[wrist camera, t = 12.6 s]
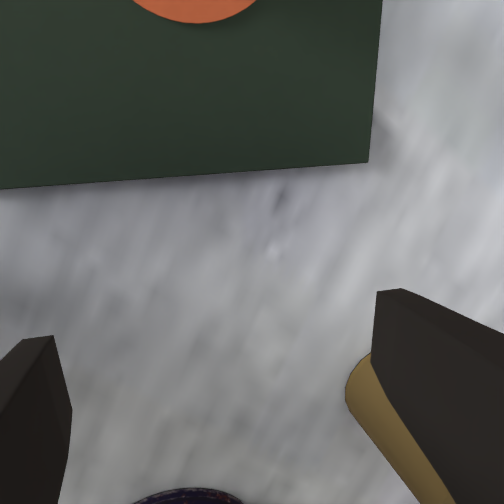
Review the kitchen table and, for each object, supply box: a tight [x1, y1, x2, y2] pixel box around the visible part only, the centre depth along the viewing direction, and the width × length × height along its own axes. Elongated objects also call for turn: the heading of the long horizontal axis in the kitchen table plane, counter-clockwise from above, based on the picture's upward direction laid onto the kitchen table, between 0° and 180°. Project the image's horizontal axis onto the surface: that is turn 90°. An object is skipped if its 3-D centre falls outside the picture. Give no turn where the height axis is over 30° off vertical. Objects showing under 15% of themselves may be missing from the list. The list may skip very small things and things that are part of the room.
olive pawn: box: [345, 353, 456, 504], centre depth 22 cm, size 6×6×11 cm
